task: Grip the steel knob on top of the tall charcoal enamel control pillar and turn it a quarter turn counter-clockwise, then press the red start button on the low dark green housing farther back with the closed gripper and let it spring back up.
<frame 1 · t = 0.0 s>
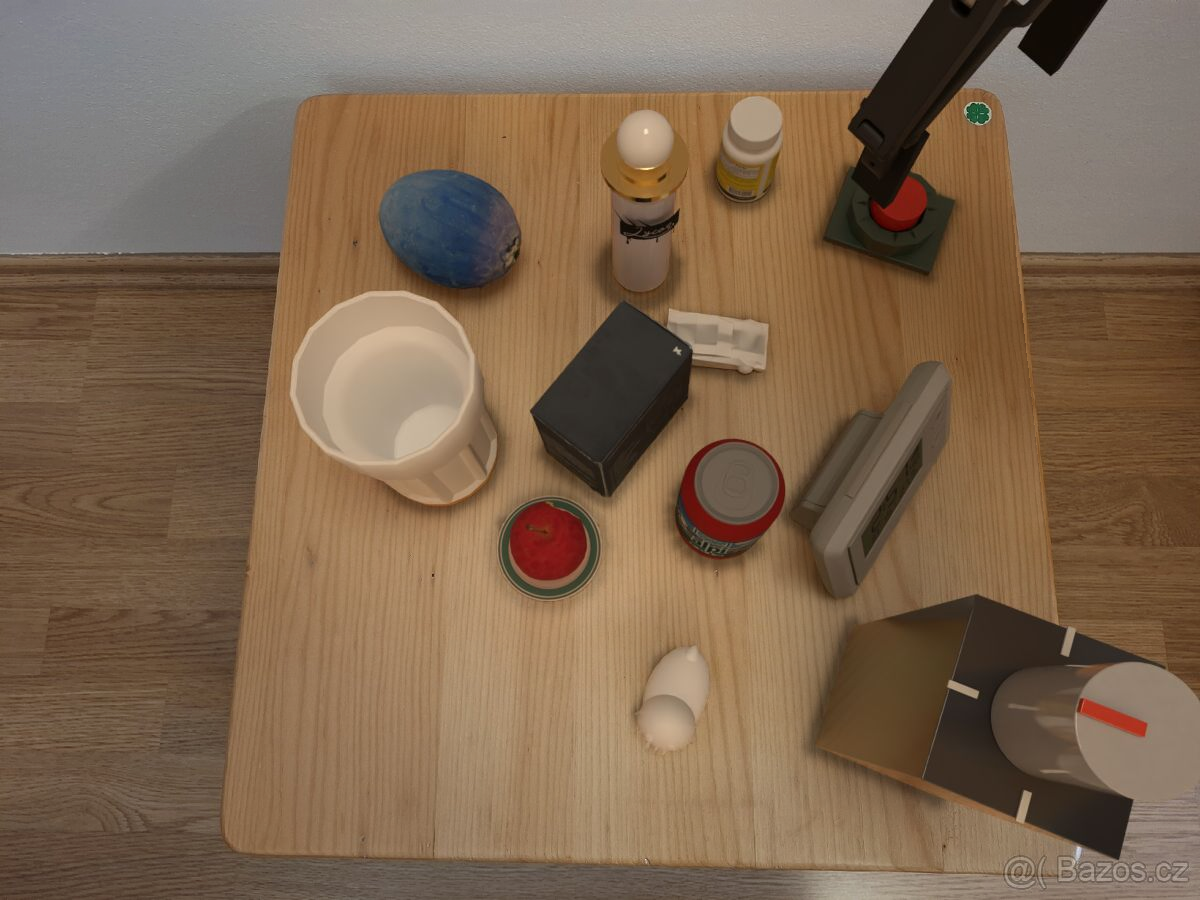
hand: (956, 123, 52), 21 cm above the table, tool pointing down, fingers open, 13 cm apart
start button: (898, 203, 71), point 3 cm above the table, slide at 0.1 cm
supplement bottle: (742, 180, 75), on the table
beverage can: (717, 517, 68), on the table
toy car: (715, 346, 72), on the table
button box: (887, 222, 74), on the table
blue plum: (477, 261, 74), on the table
hob knob: (1091, 726, 37), point 28 cm above the table, hinge at 0.0°
toy creature: (672, 698, 65), on the table
apple: (550, 549, 68), on the table
perfume bottle: (640, 271, 74), on the table
cup: (441, 450, 70), on the table
digital clock: (864, 499, 68), on the table
control pillar: (893, 709, 64), on the table
box: (615, 424, 70), on the table
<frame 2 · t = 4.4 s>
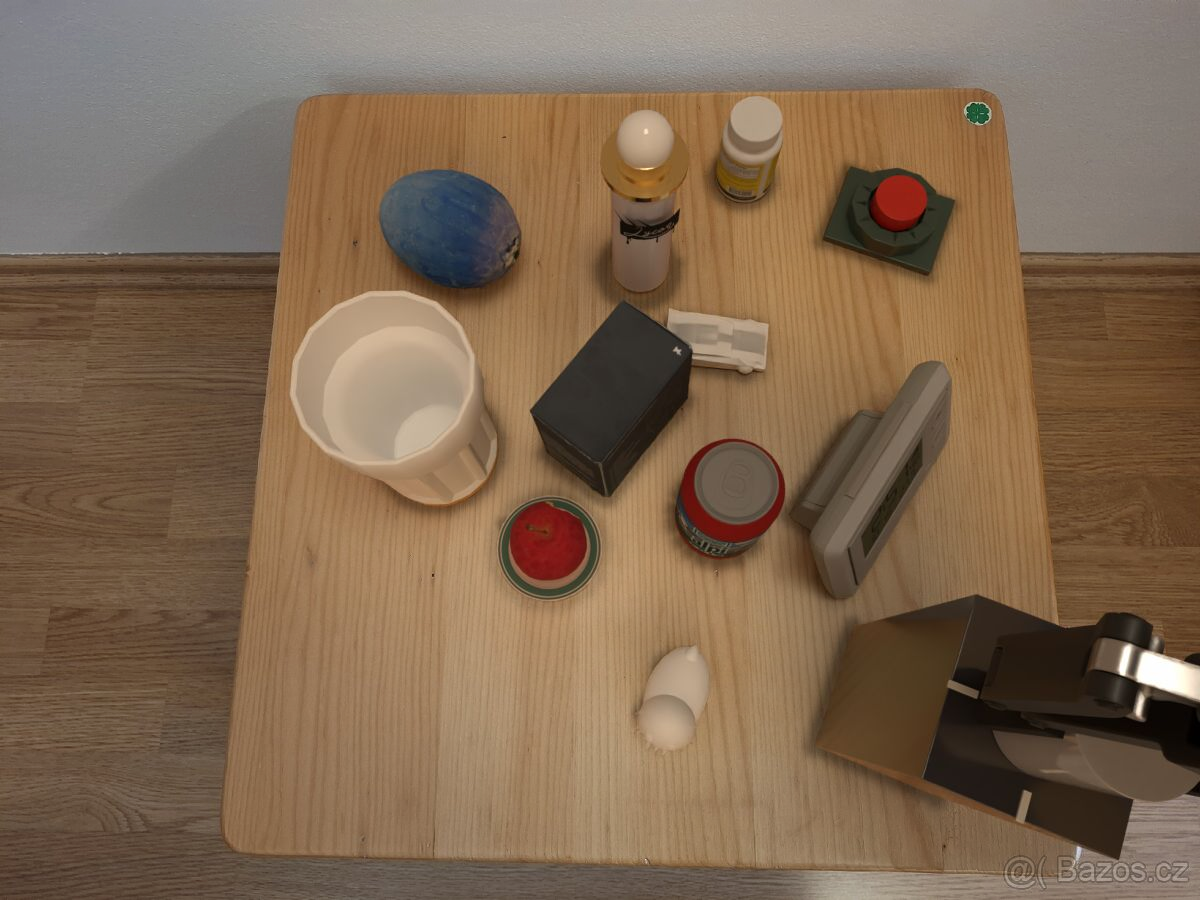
hand: (1058, 723, 40), 25 cm above the table, tool pointing down, fingers closed on hob knob, 5 cm apart
hob knob: (1091, 726, 37), point 28 cm above the table, hinge at -0.1°, touching gripper
everything else where it was.
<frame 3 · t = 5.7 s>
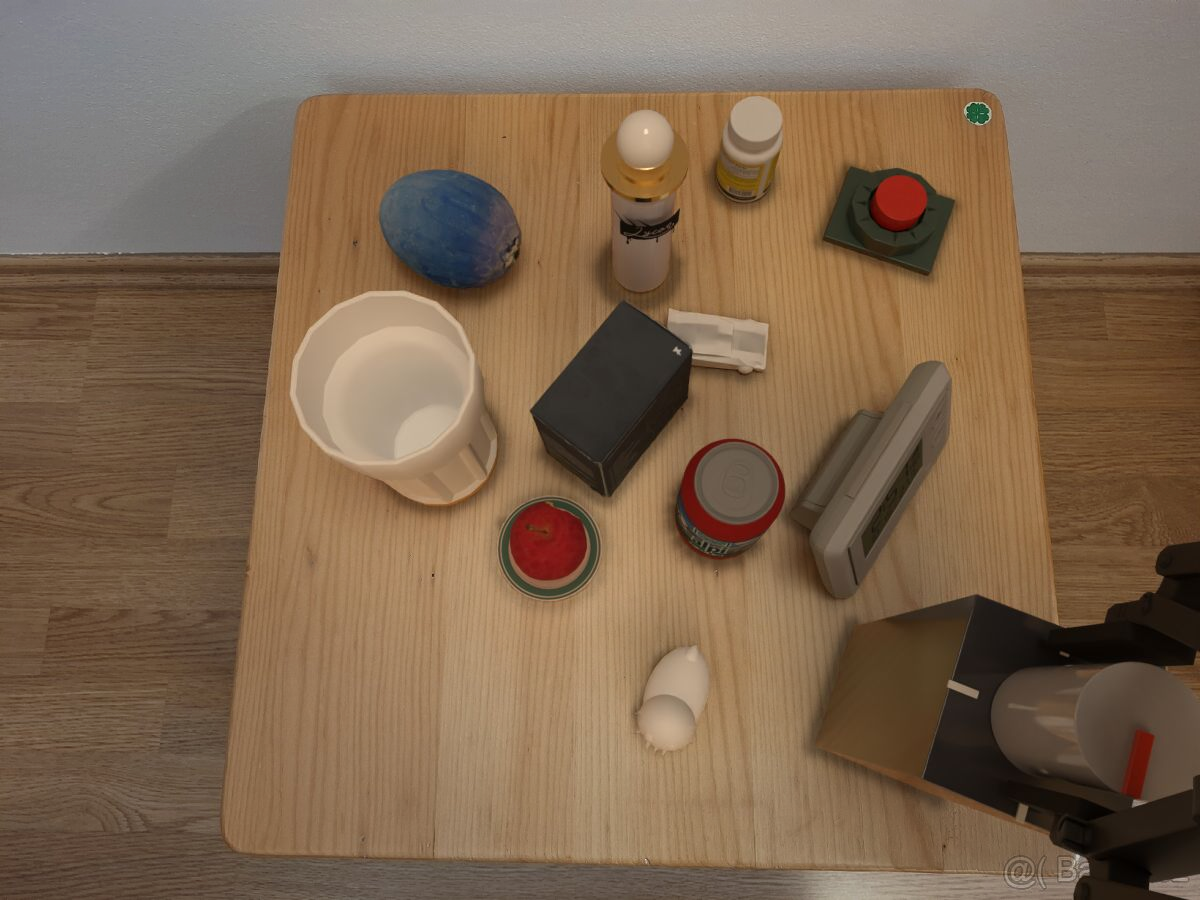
hand: (1057, 723, 40), 25 cm above the table, tool pointing down, fingers open, 6 cm apart
hob knob: (1091, 726, 37), point 28 cm above the table, hinge at 90.4°
everything else where it was.
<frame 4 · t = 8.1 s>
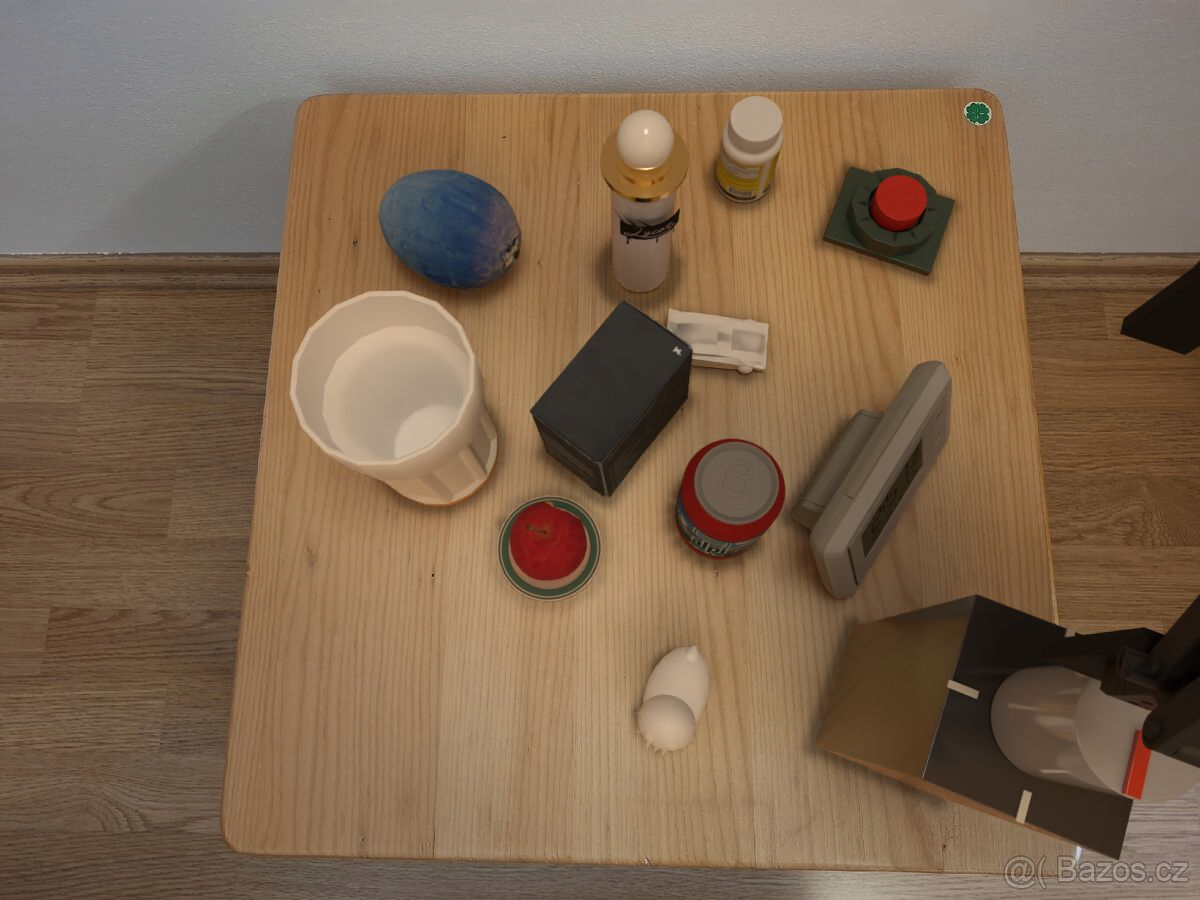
hand: (1114, 492, 35), 32 cm above the table, tool pointing down, fingers open, 13 cm apart
hob knob: (1091, 726, 37), point 28 cm above the table, hinge at 90.9°, touching gripper
everything else where it was.
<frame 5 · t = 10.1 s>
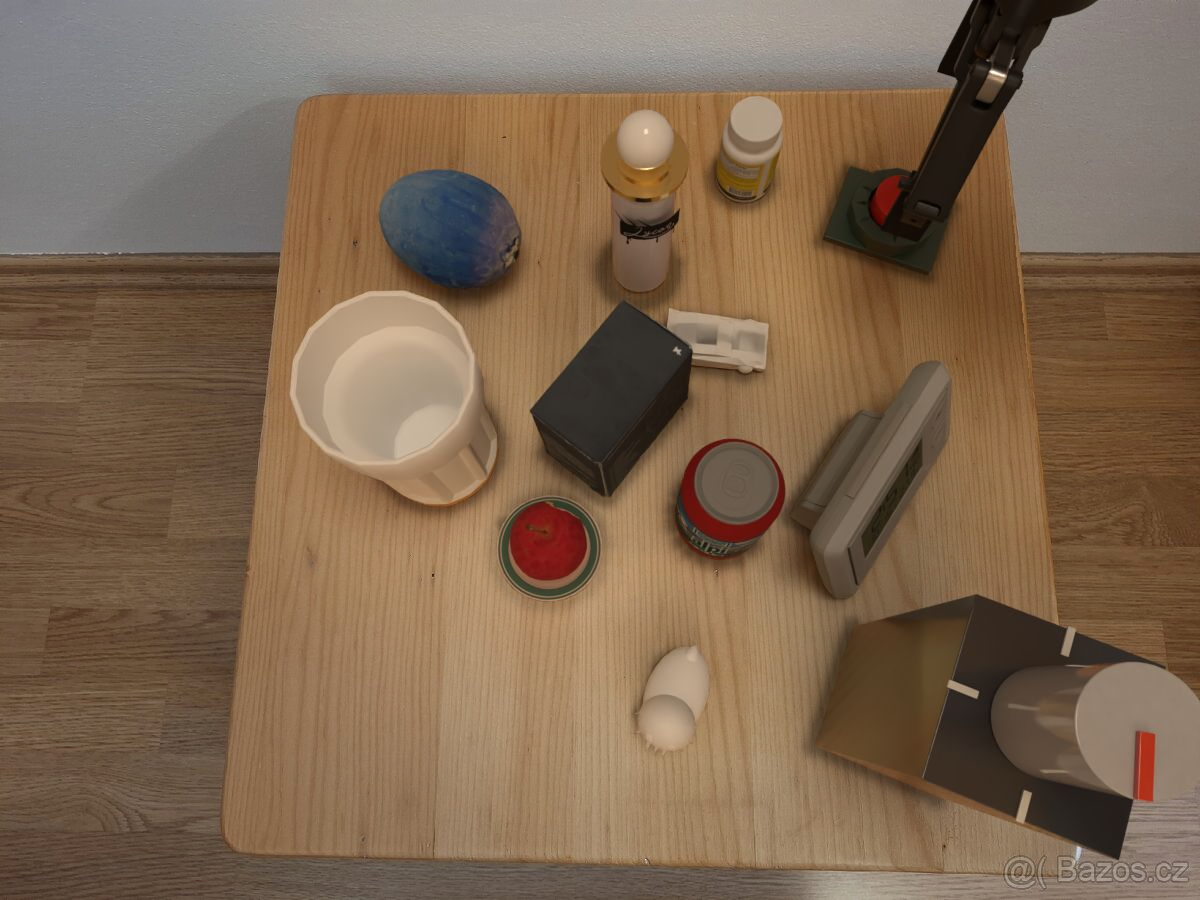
hand: (928, 151, 63), 11 cm above the table, tool pointing down, fingers open, 13 cm apart
hob knob: (1091, 726, 37), point 28 cm above the table, hinge at 101.0°
everything else where it was.
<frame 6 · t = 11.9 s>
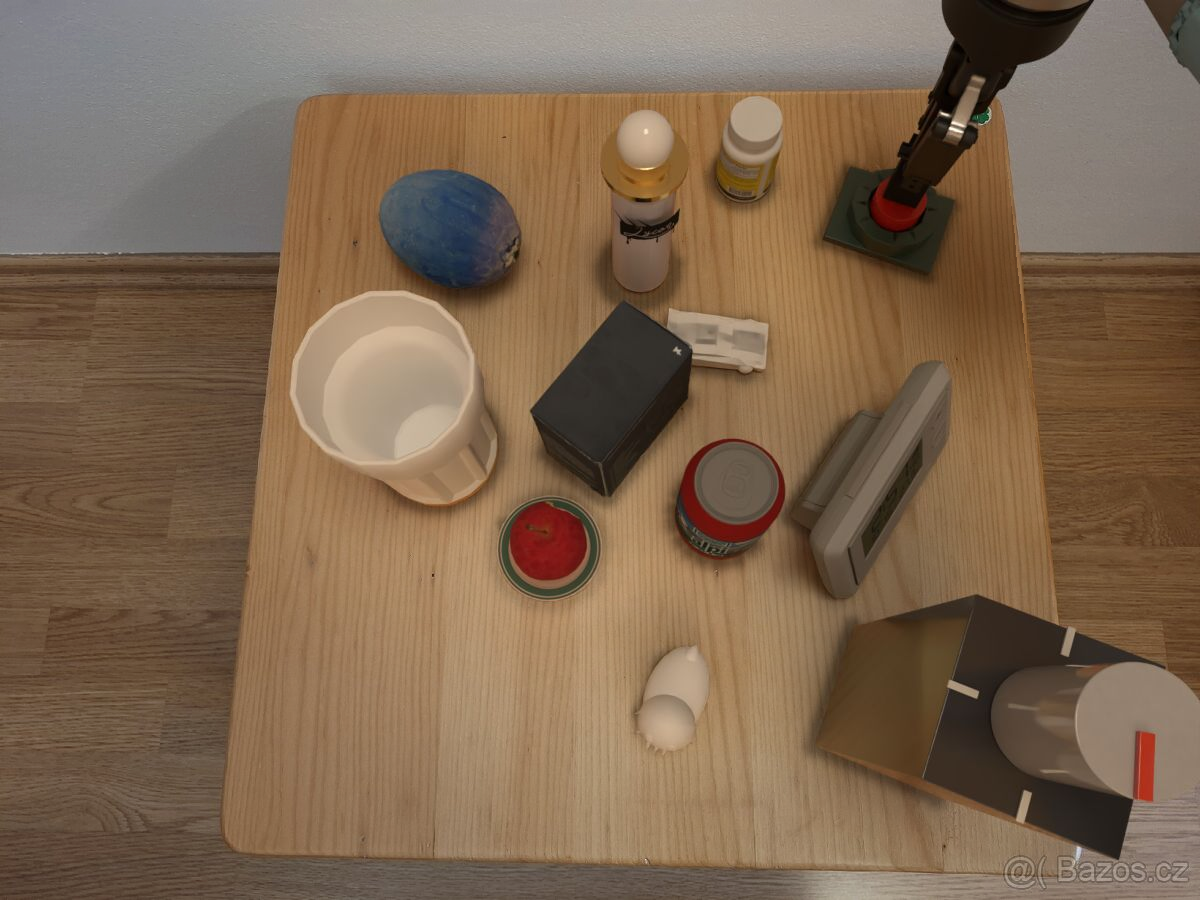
hand: (901, 195, 70), 4 cm above the table, tool pointing down, fingers closed
start button: (898, 203, 71), point 3 cm above the table, slide at 0.1 cm, touching gripper
everything else where it was.
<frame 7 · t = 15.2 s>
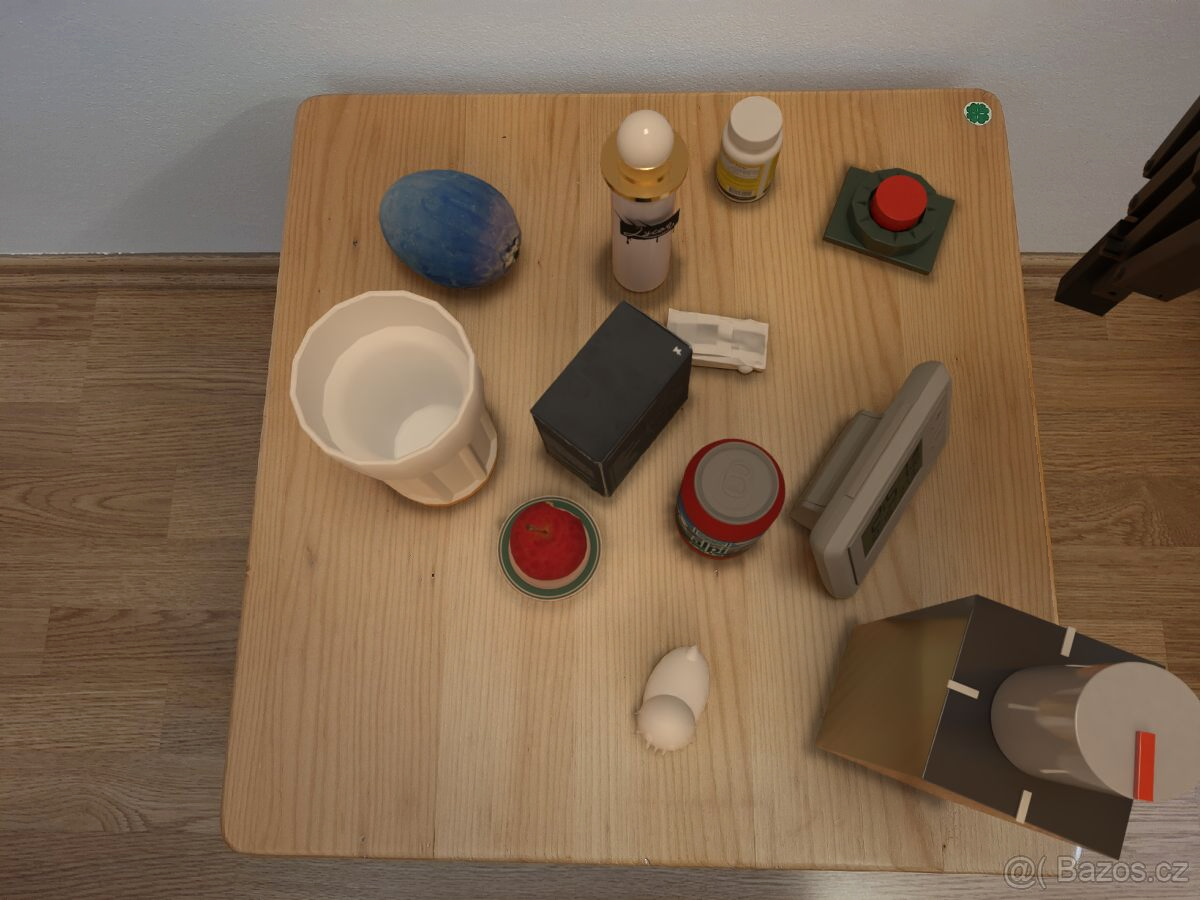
hand: (1081, 297, 50), 20 cm above the table, tool pointing down, fingers closed
start button: (898, 203, 71), point 3 cm above the table, slide at 0.1 cm
everything else where it was.
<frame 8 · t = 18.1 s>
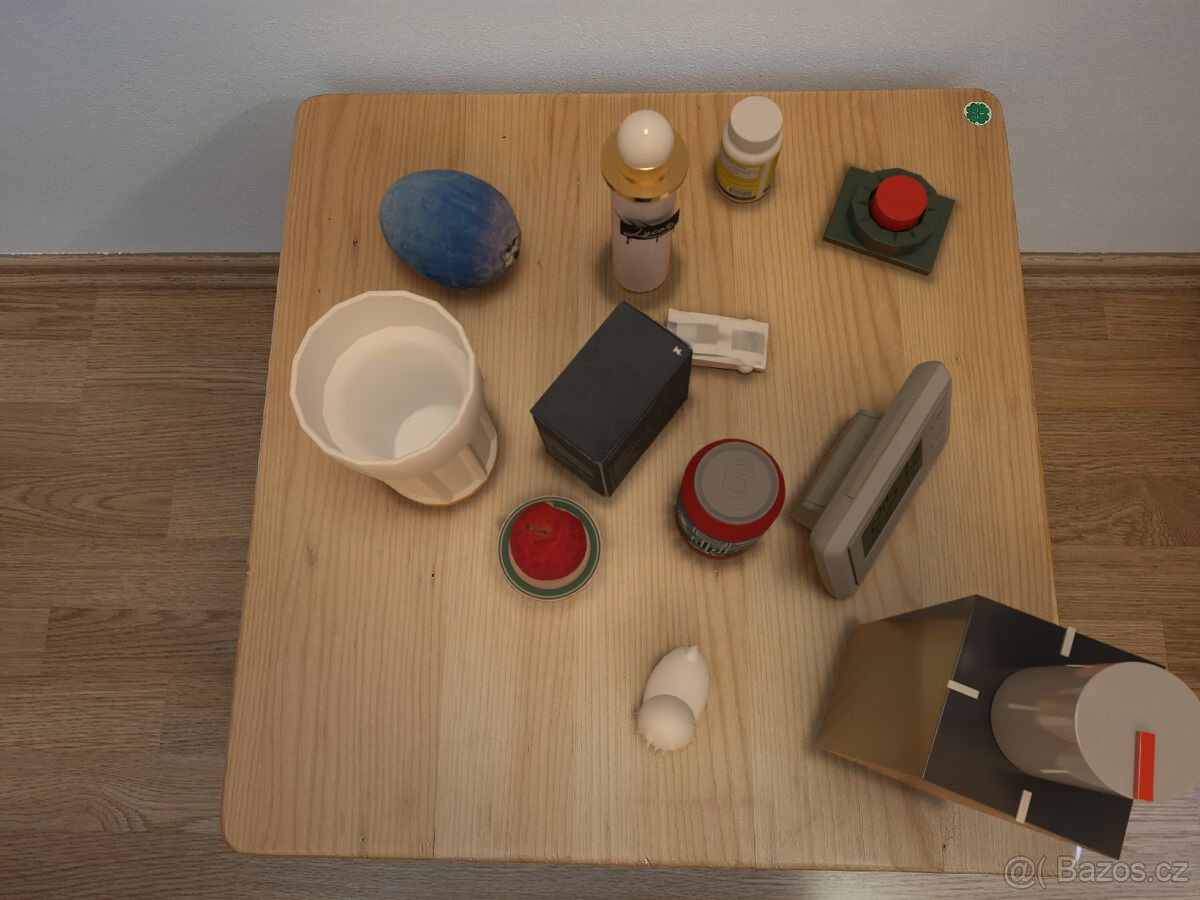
nothing on the table moved.
at the end: hob knob at +101° (first picture: +0°); start button pushed in 1.0 cm at the most during the clip, back to where it started at the end; start button slide at 0.1 cm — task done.
